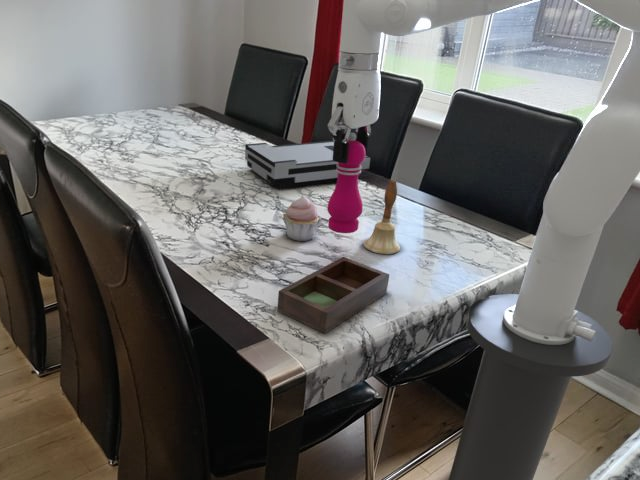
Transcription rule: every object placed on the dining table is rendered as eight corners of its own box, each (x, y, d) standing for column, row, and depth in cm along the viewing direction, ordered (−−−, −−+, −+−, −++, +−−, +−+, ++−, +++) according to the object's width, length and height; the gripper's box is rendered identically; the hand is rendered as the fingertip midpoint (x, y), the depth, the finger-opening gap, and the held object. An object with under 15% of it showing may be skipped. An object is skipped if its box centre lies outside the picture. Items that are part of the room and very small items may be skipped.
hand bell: (388, 237, 138) (398, 173, 130) (406, 252, 131) (418, 185, 124) (357, 241, 136) (366, 175, 128) (374, 256, 129) (384, 187, 121)
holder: (386, 293, 114) (389, 274, 112) (324, 334, 100) (327, 313, 98) (341, 275, 120) (343, 256, 118) (277, 311, 107) (278, 290, 105)
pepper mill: (340, 218, 126) (348, 126, 117) (367, 228, 122) (378, 133, 112) (318, 227, 122) (326, 132, 112) (346, 237, 117) (356, 139, 108)
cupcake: (314, 227, 142) (317, 188, 137) (324, 243, 134) (328, 202, 129) (277, 229, 141) (279, 189, 136) (285, 244, 133) (287, 203, 128)
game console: (367, 180, 176) (370, 153, 172) (273, 191, 164) (275, 163, 160) (332, 161, 193) (334, 136, 189) (244, 170, 181) (245, 144, 177)
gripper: (349, 68, 98) (340, 171, 107) (400, 60, 110) (388, 154, 118) (314, 64, 103) (308, 163, 111) (367, 56, 114) (357, 147, 123)
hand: (349, 157), depth 115 cm, fingers closed on pepper mill, 6 cm apart
